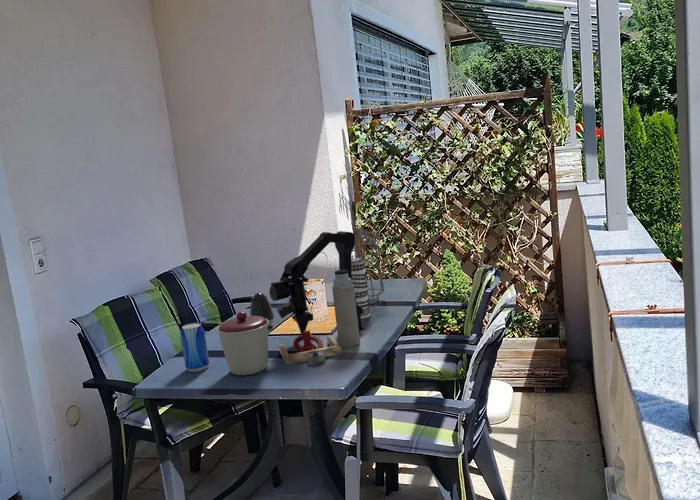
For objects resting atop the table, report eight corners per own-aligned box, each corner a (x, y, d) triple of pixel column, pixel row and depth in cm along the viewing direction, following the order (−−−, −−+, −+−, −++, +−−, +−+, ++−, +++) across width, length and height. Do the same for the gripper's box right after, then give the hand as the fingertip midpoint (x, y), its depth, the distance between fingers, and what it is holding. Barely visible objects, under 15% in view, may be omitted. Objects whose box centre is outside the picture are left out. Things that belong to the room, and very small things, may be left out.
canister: (252, 382, 215) (243, 320, 211) (211, 377, 224) (203, 318, 221) (285, 363, 230) (277, 305, 226) (246, 359, 239) (238, 303, 236)
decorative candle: (346, 319, 278) (340, 261, 274) (354, 313, 287) (348, 257, 283) (366, 319, 275) (360, 261, 271) (374, 312, 283) (368, 256, 279)
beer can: (188, 366, 239) (181, 324, 237) (211, 363, 240) (204, 321, 237) (184, 374, 231) (177, 330, 228) (208, 370, 231) (201, 327, 229)
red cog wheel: (303, 360, 232) (300, 337, 230) (290, 352, 242) (287, 330, 241) (330, 352, 236) (327, 330, 235) (316, 345, 247) (314, 324, 246)
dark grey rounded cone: (246, 330, 278) (241, 295, 276) (260, 323, 287) (255, 289, 285) (265, 331, 274) (261, 296, 271) (279, 324, 283) (275, 289, 280)
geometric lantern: (390, 298, 305) (382, 225, 298) (373, 308, 292) (365, 232, 286) (361, 297, 314) (353, 225, 307) (344, 306, 301) (335, 232, 294)
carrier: (331, 342, 248) (330, 332, 248) (346, 359, 227) (345, 348, 227) (279, 352, 243) (278, 341, 243) (289, 370, 222) (288, 359, 222)
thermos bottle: (343, 340, 250) (334, 268, 245) (362, 340, 247) (354, 267, 242) (335, 346, 242) (327, 273, 238) (356, 346, 239) (347, 272, 235)
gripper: (272, 293, 253) (277, 332, 256) (281, 303, 236) (286, 345, 238) (300, 288, 256) (305, 327, 259) (311, 298, 239) (316, 339, 241)
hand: (302, 334), depth 249 cm, fingers closed
